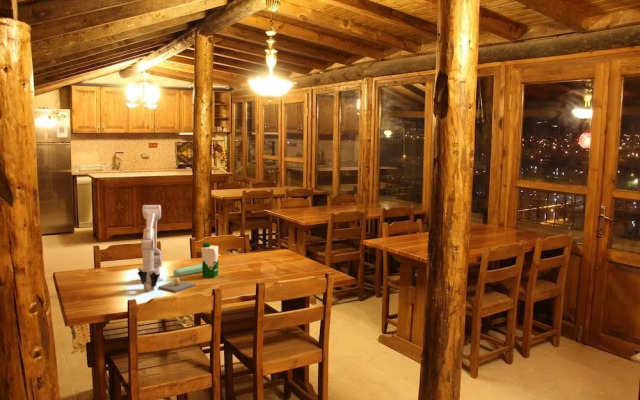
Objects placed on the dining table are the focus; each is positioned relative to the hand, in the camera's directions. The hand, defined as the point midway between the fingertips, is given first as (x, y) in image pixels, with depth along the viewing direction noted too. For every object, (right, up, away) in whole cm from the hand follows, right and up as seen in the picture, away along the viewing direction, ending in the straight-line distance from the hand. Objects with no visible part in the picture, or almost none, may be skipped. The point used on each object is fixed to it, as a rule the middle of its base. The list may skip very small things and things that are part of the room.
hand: (149, 285), depth 304 cm
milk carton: (+28, +1, +29) cm, 40 cm away
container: (+16, +1, +35) cm, 38 cm away
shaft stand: (+14, -2, +6) cm, 15 cm away
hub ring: (0, -3, 0) cm, 3 cm away
